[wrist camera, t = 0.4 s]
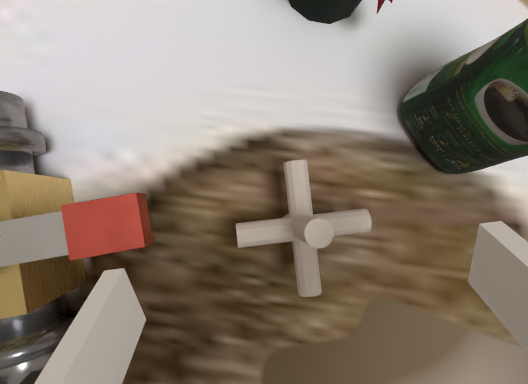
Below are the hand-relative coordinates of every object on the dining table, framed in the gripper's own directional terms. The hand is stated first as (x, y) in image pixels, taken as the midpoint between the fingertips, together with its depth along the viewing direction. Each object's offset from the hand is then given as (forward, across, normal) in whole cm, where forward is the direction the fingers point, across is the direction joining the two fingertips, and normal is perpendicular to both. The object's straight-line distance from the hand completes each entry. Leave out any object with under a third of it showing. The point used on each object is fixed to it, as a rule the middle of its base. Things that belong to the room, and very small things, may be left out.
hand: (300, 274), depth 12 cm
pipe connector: (+16, 0, +8) cm, 17 cm away
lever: (+6, +15, +1) cm, 17 cm away
